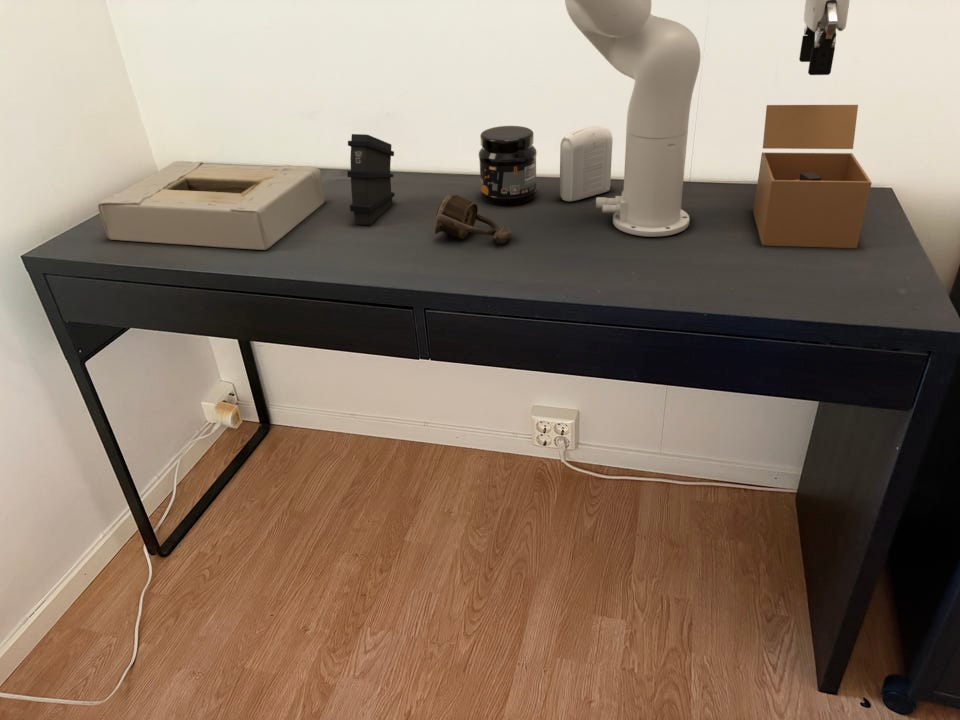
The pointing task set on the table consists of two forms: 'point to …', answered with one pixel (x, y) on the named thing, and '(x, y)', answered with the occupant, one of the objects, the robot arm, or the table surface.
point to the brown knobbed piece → (466, 220)
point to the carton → (810, 200)
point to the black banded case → (370, 178)
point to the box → (214, 205)
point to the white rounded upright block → (585, 163)
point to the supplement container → (508, 165)
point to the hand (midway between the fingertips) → (814, 67)
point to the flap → (810, 126)
